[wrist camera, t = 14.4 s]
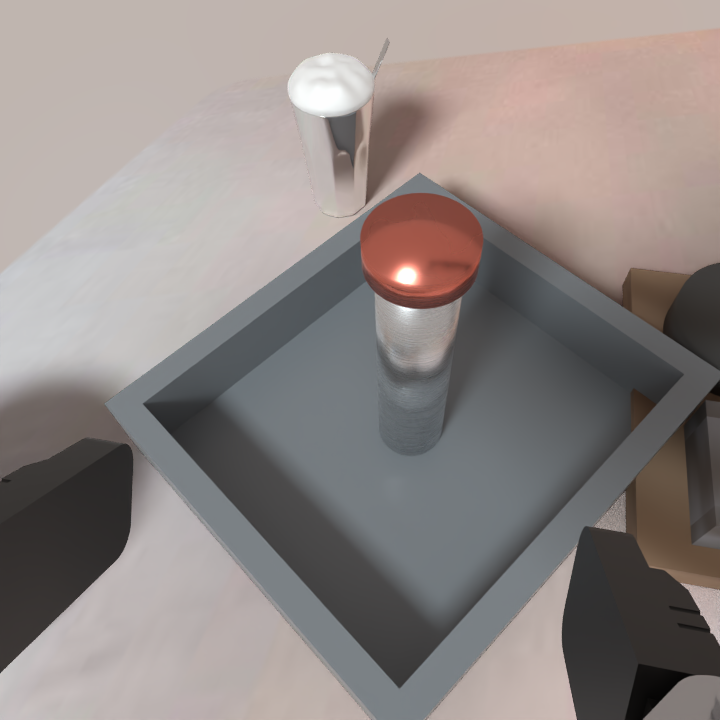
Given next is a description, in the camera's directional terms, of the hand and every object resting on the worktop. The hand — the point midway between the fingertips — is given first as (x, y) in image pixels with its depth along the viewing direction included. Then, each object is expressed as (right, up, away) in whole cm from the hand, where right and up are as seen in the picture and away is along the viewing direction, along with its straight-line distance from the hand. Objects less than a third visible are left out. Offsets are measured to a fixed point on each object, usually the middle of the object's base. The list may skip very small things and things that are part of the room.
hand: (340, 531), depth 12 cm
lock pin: (+3, 0, +20) cm, 20 cm away
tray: (+3, -1, +21) cm, 21 cm away
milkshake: (0, +13, +30) cm, 33 cm away
